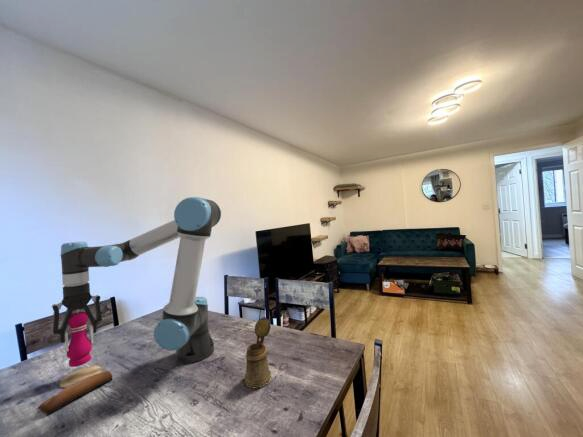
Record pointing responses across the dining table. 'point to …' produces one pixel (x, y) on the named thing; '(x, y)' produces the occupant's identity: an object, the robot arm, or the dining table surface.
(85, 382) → the sunglasses case
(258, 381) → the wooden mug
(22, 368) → the dining table surface
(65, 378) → the coaster
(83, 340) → the pepper mill
